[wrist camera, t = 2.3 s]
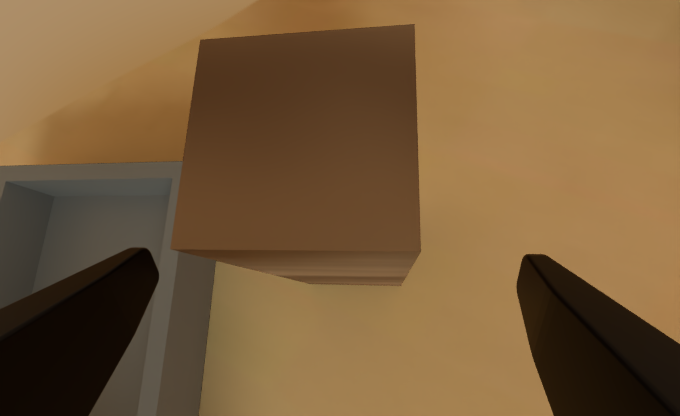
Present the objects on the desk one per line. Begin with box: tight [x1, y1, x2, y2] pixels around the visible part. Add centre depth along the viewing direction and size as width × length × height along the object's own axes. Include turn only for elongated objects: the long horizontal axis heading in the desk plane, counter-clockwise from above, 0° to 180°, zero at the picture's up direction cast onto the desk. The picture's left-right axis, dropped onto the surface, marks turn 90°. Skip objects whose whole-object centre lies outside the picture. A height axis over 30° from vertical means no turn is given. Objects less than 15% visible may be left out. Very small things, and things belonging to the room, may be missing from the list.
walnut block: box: [170, 24, 421, 286], centre depth 13 cm, size 4×4×12 cm
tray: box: [0, 161, 216, 416], centre depth 17 cm, size 16×10×4 cm, turn 178°
